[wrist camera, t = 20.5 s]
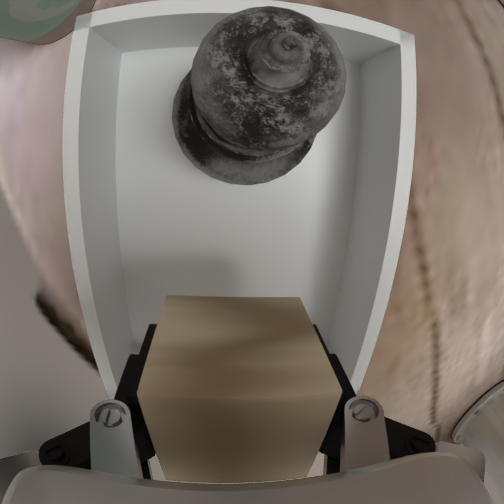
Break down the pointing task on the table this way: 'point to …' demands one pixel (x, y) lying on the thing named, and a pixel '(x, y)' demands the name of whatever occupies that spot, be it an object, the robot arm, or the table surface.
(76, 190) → the tote
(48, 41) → the coffee cup
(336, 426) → the robot arm
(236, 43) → the chess piece
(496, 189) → the table surface
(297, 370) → the beech cube
